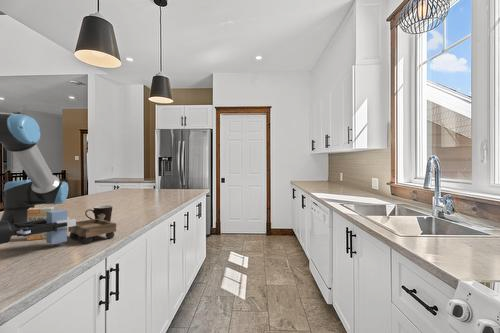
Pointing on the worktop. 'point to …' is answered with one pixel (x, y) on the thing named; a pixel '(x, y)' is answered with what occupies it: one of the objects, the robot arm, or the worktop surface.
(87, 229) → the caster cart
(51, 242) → the slate post
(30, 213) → the supplement box
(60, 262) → the worktop surface
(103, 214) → the coffee mug
